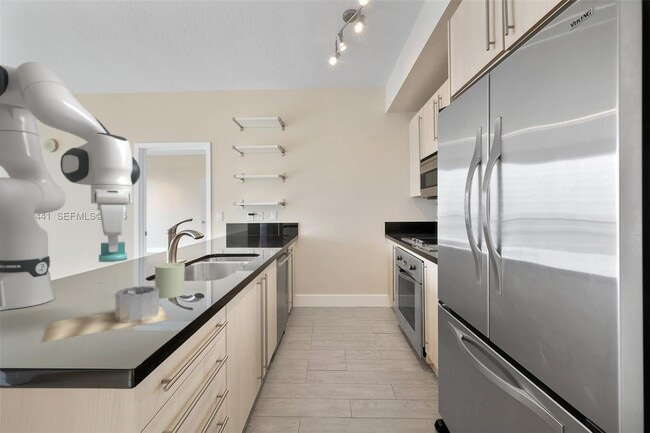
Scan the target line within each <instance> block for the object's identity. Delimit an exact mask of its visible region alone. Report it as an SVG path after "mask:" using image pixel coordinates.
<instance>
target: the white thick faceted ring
mask: <svg viewBox="0 0 650 433" xmlns="http://www.w3.org/2000/svg"><path fill="white" fill-rule="evenodd" d="M114 305H115V321H117V322H120V323H136V322H143V321H146V320H150V319H153V318H155V317H156V316H158V314H159V306H160V298H159V288H158V287H155V285H153V286H151V285H143V286H142V285H141V286H131V287H126V288H122V289H120V290H117V291H116V293H115V304H114Z"/></svg>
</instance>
